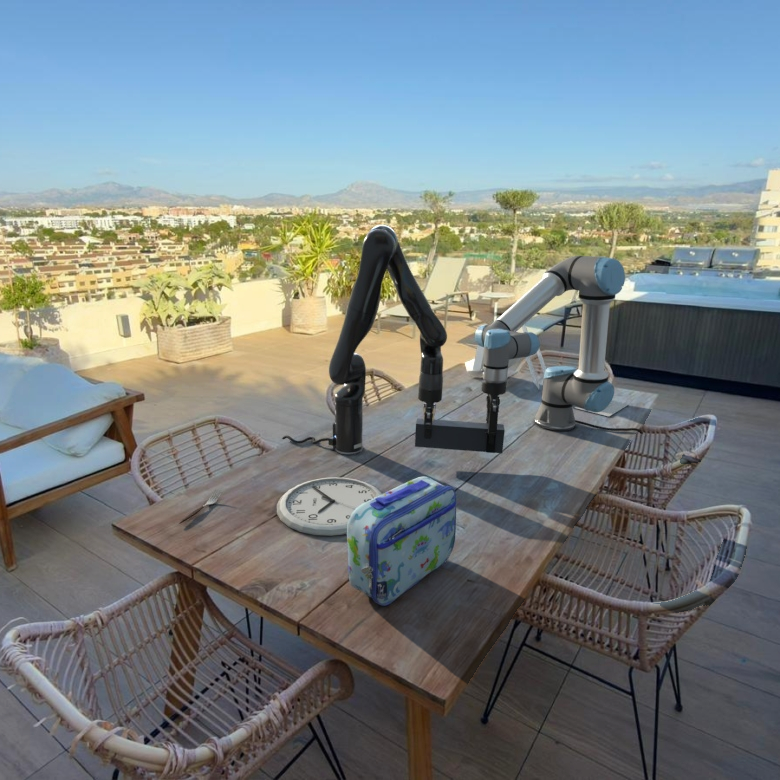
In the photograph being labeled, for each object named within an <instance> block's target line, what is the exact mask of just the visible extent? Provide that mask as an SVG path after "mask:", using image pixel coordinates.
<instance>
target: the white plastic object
mask: <svg viewBox="0 0 780 780" xmlns="http://www.w3.org/2000/svg"><path fill="white" fill-rule="evenodd" d="M521 329H522V333H524V332H529V331H528V328H527V325H526V323H525V324H524V325H523V326H522V327H521ZM536 355H537V359H538V362H539V364H540V367H541V370H542V373H543V376H544V375H545V370H546V369H547V366H546V364H545V363H546V362H545V360H544V358H543V355H542V351H541V348H540V347H539V349H538V351H537V353H536ZM523 358H524V357H521V358H515V359H509V362H508V369H509V368H511V367H512V366H513V365H515V364H517V363H518V362H520V361H521V360H522V359H523ZM525 360H526V363H527V367H528V370H529V372H530V376H531V379H532V382H533V384H534V386H535V387H536V388H537V389H538V390H540V383H539V380H538V377H537V374H536V371H535V368H534V365H533V361H532V359H531V356H528V357H525ZM483 362H484V347H481V346H479V345H478V344H477V346H476V351H475V355H474V358H473V359H471V360H468V361H465V362H464V365H465V370H466V372H467V374H468V375H469V377H471V378H472V377H481V376H482V377H483V372H481V369H484V368H483Z"/></svg>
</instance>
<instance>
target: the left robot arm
mask: <svg viewBox="0 0 780 780" xmlns="http://www.w3.org/2000/svg"><path fill="white" fill-rule="evenodd" d="M386 272H388V274H389V276H390V278H391V281H392V282H393V286H394V287H395V291H396V294H397V296H398V298H399V301H400V303H401V304H402V307H403V308H404V310H405V312H406V313H407V314H408V317H409V318H410V319H411V321H412V322H414V324H415V325H416V327H417V329H418V330H419V347H420V349H419V350H420V366H419V367H420V368H419V377H418V393H417V394H418V395H417V399H418V400H419V401H420V402H423V406H422V412H423V415H422V416H423V417H422V419H423V420H424V428H425V431H424V438H425V439H431V430H432V421H434V420H435V413H436V408H437V404H436V403H440V402H441V401H442V399H443V385H444V376H443V375H444V374H443V373H444V372H443V371H444V357H443V354H442V347H443V346H444V345H445V344H446V342H447V340H448V333H447V330H446V328H445V327H444V325H443V323H442V321H441V320H440V319H439V317H438V316H437V315H436V313H435V312H434V310H433V308H432V307H431V304H430V302H429V301H428V299H427V297H426V295H425V294H424V292H423V290H422V288H421V287H420V284H419V283H418V282H417V280H416V278H415V276H414V275H413V273H412V270H411V268H410V266H409V264H408V261H407V259H406V257H405V255H404V253H403V250H402V248H401V245H400V241H399V238H398V236H397V234H396V232H395V231H394V230H393V228H392V227H390V226H388V225H384V224H379V225H375V226H374V227H373V228H371V229H370V230H369V231H368V233H367V234H366V235H365V237H364V239H363V242H362V247H361V255H360V262H359V268H358V273H357V276H356V279H355V282H354V284H353V286H352V289H351V292H350V296H349V298H348V302H347V306H346V310H345V314H344V319H343V322H342V326H341V329H340V333H339V336H338V340H337V343H336V345H335V348H334V351H333V353H332V355H331V357H330V361H329V364H328V365H329V366H328V374H329V375H328V376H329V378H330V381H332V383H333V384H334V385H338V386H341V388H340V389H339V390H337V391H336V392H335V394H334V422H333V423H332V436H330V437H323V438H318V439H317V440H316V438H315V437H314V436H308V437H305V438H304V439H302V440H296V439H295V438H292V436H290V435H287V434H286V435H284V436H283V437H282V438H281V440H285V439H288V440H289V441H291V442H292V443H293V444H304V443H306V442H308V441H310V440H311V441H312V444H314V445H316V444H319V443H321V442H327V441H328V446H332V450H333V451H334V452H336V453H338V454H340V455H344V456H353V455H358V454H360V453H361V452H362V451H363V450H364V447H363V445H364V444H363V436H364V435H363V434H364V433H363V427H364V425H363V423H364V422H363V419H364V417H363V416H364V415H363V401H364V400H363V399H364V396H365V392H366V379H367V378H366V377H367V368H366V363H365V360H364V357H362V356H361V355H360V354H359V353H356V350H357V349H358V348H359V345H360V344H361V343H362V342H363V340H364V339H365V338H366V337H367V335H368V334H369V333H370V331H371V330H372V328H373V326H374V325H375V322H376V319H377V314H378V311H379V307H380V302H381V294H382V285H383V280H384V277H385V275H386ZM426 423H430V425H429V424H426Z"/></svg>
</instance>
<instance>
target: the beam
mask: <svg viewBox="0 0 780 780" xmlns="http://www.w3.org/2000/svg"><path fill="white" fill-rule="evenodd" d="M426 424H429V425H430V423H426ZM504 426H505V425H504V424H502V423H497V435H496V441H495V453H494V454H503V451H504V440H505V432H506V430H505V427H504ZM424 431H425V428H424V420H423V418H417V417H416V422H415V433H414V434H415V435H414V448H427V449H440V450H454V451H465V452H478V453H479V452H480V453H487V452H486V443H487V434H485V432H488V423H486V422H476V421H475V422H473V421H460V420H459V421H458V420H448V419H447V420H444V419H434V421H432V430H431V439H425V438H424Z"/></svg>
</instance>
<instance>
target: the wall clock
mask: <svg viewBox="0 0 780 780" xmlns="http://www.w3.org/2000/svg"><path fill="white" fill-rule="evenodd" d="M381 494H384V492H382V491H381V490H380V489H379V488H377V487H376V486H374V485H372V484H371V483H369V482H365V481H362V480H359V479H355V478H349V477H338V476H337V477H335V476H333V477H332V476H331V477H322V478H317V479H312V480H307V481H305V482H302V483H299V484H297V485H295V486H293V487H292V488H290V489H288V490H287V491H286V492H285V493H284V494H283V495H281V496H280V498H279V499H278V502H277V503H276V515H277V517H278V518H279V520H280V521H281V522H282V523H283V524H285V525H286V526H287V527H288V528H290V529H293V530H295V531H297V532H299V533H303V534H308V535H312V536H327V537H328V536H329V537H331V536H332V537H333V536H342V535H347V525H348V521H349V518H350V516H351V514H352V513H353V511H354V510H355V509H356V508H357V507H358V506H360V505H362V504H363V503H365V502H368V501H370V500H372V499H374V498H376V497H378V496H380V495H381Z"/></svg>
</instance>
